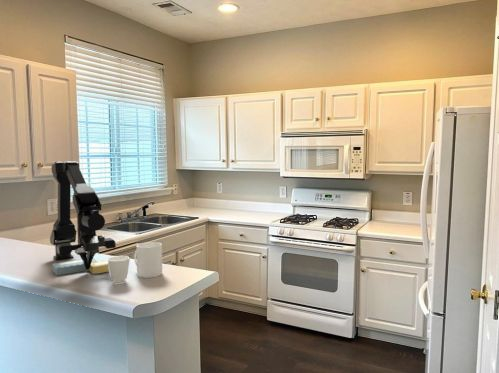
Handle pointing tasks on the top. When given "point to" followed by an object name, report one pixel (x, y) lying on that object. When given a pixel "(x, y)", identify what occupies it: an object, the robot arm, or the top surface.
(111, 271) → the cup
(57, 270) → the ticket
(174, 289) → the top surface
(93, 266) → the yellow box
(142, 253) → the mug
